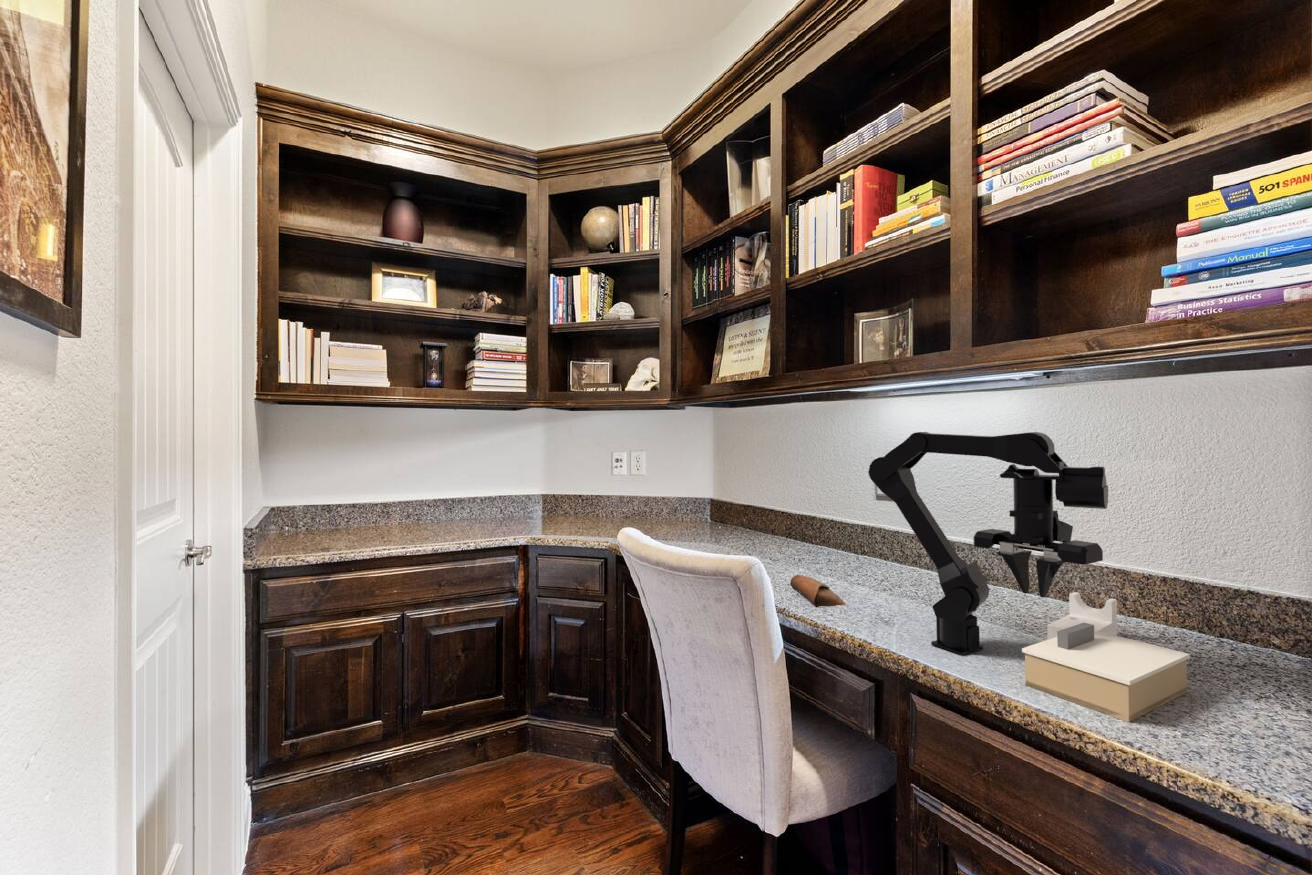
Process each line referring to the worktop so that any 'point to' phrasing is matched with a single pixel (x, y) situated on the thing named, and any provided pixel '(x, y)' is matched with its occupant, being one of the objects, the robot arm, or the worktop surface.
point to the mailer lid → (1106, 654)
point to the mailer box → (1106, 688)
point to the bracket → (1086, 617)
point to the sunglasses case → (815, 591)
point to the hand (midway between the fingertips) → (1034, 594)
